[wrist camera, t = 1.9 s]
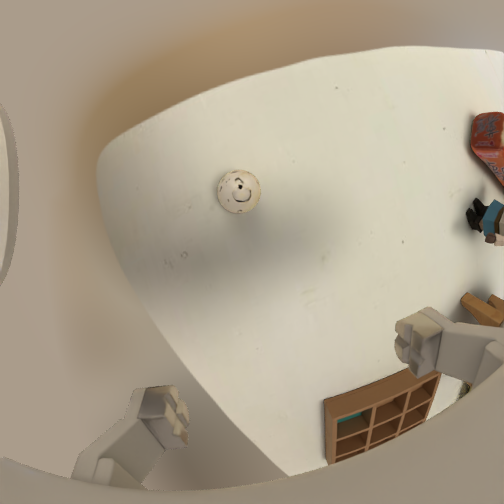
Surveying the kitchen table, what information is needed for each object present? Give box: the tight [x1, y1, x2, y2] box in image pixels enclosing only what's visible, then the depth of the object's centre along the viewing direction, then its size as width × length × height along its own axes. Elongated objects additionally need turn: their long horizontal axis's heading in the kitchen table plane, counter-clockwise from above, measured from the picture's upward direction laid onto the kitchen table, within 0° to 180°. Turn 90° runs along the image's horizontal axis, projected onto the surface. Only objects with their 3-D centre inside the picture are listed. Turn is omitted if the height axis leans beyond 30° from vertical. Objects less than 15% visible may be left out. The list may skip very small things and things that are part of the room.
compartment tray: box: [324, 368, 442, 465], centre depth 29 cm, size 16×16×3 cm
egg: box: [217, 170, 261, 213], centre depth 19 cm, size 3×3×5 cm
